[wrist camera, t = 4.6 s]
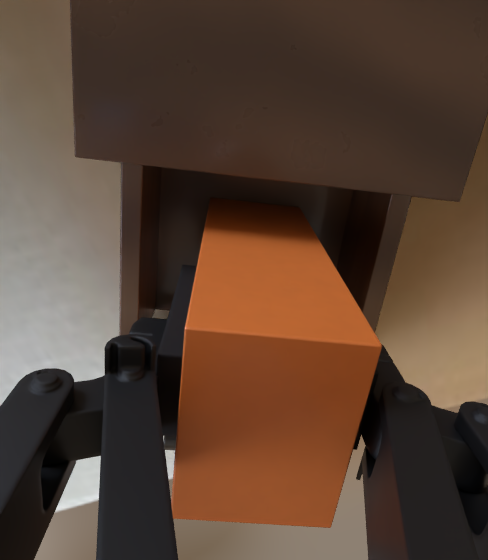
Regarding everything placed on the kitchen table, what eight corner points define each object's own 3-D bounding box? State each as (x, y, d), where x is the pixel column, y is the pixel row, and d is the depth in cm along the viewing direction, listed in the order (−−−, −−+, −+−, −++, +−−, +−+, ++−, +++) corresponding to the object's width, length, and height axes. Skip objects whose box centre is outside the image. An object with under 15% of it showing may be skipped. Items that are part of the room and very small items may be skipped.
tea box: (281, 313, 24) (331, 528, 12) (200, 305, 24) (169, 519, 12) (300, 207, 22) (383, 345, 10) (210, 197, 22) (184, 327, 10)
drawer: (322, 415, 28) (345, 498, 23) (129, 400, 28) (102, 482, 22) (397, 99, 21) (460, 101, 15) (136, 64, 20) (98, 52, 14)
